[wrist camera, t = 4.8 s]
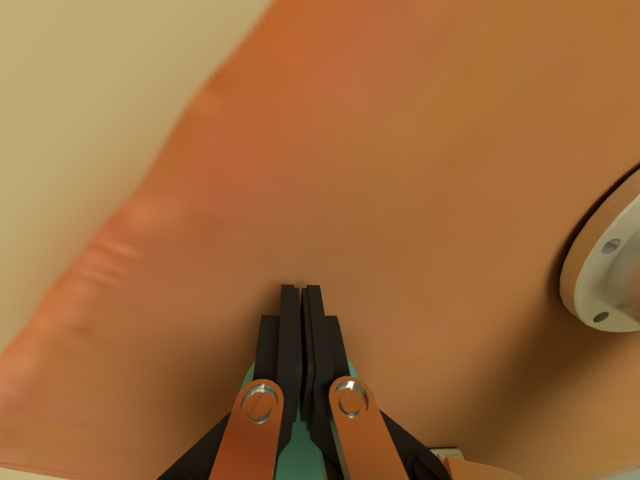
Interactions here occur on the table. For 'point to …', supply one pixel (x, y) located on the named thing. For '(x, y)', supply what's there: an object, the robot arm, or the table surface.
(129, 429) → the table surface
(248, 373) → the ball
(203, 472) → the robot arm
